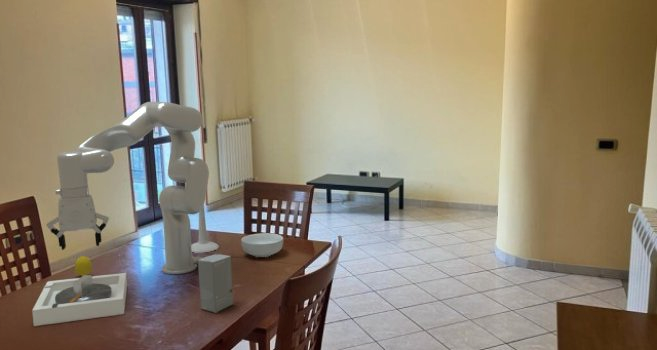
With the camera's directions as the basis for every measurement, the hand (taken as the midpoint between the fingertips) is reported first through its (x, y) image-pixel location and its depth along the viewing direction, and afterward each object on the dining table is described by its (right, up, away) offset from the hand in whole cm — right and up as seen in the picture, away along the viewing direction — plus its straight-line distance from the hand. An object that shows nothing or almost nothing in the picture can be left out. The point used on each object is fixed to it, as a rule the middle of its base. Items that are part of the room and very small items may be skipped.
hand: (81, 246), depth 161 cm
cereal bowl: (+50, -11, +51) cm, 72 cm away
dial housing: (0, -19, +3) cm, 19 cm away
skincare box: (+42, -19, 0) cm, 46 cm away
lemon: (-12, -15, +27) cm, 33 cm away
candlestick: (+23, -9, +60) cm, 65 cm away
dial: (0, -16, +2) cm, 16 cm away
